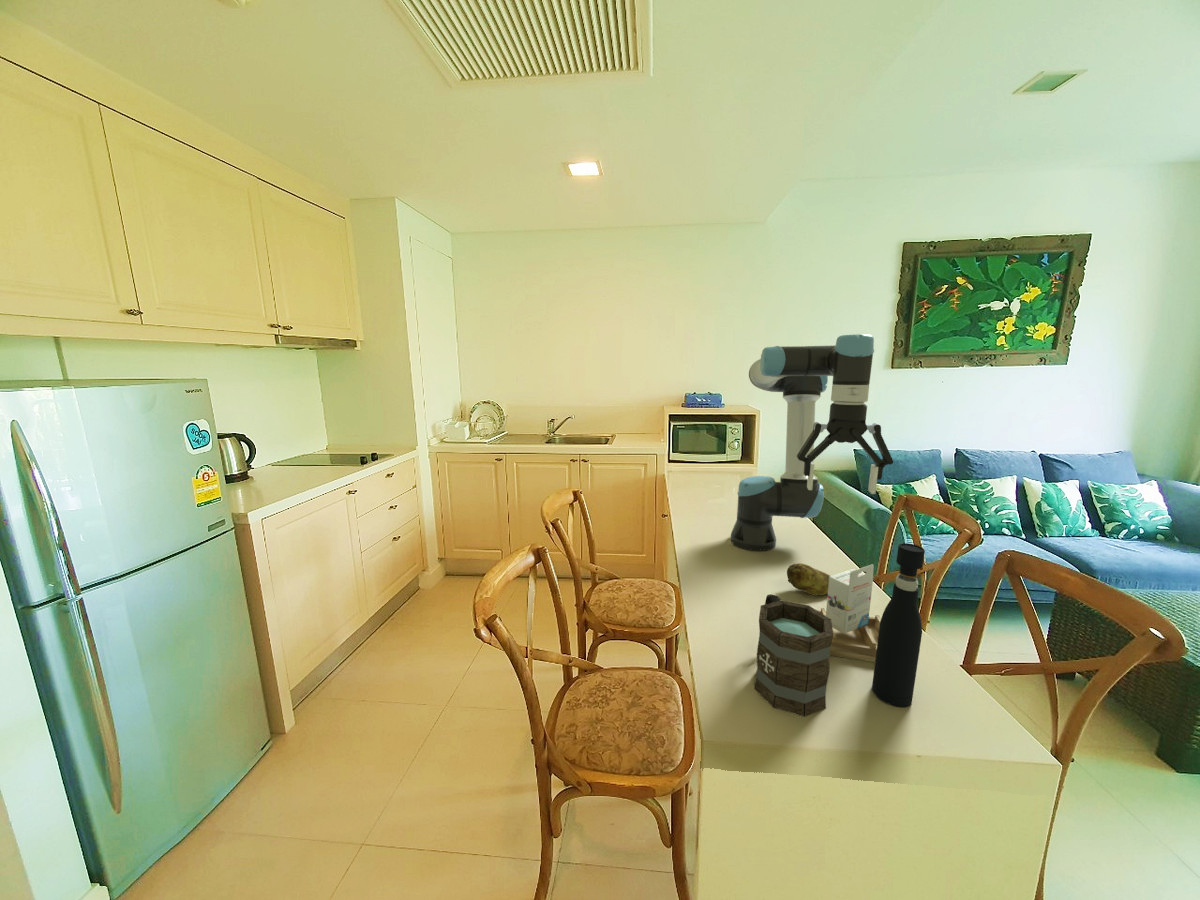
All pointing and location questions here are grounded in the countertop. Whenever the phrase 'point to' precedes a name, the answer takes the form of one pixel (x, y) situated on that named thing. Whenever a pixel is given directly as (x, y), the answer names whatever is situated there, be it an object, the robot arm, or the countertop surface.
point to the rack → (856, 641)
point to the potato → (808, 579)
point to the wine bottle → (900, 633)
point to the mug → (793, 656)
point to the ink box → (850, 598)
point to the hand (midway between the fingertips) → (840, 490)
